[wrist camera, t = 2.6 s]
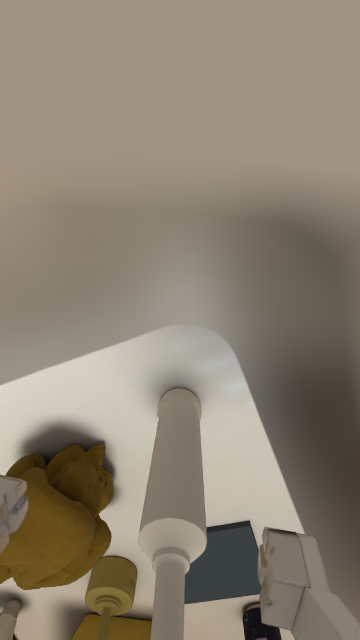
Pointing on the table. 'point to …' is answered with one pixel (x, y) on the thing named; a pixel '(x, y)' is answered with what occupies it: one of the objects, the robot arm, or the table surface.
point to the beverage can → (258, 626)
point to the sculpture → (111, 590)
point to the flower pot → (114, 628)
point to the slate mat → (224, 565)
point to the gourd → (59, 518)
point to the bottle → (174, 509)
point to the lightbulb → (9, 619)
